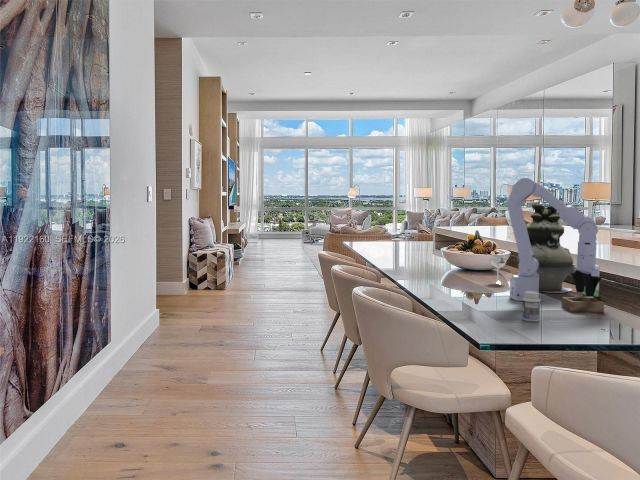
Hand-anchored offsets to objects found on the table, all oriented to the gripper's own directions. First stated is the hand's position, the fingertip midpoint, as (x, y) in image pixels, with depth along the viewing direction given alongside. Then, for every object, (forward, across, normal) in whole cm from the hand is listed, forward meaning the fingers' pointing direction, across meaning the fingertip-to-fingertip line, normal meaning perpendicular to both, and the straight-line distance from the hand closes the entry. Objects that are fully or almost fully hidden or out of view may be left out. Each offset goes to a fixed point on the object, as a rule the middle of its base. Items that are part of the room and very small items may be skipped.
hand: (584, 294), depth 175 cm
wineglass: (+4, +47, +17) cm, 50 cm away
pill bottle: (+4, -27, +27) cm, 38 cm away
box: (+4, -10, +5) cm, 12 cm away
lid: (+4, 0, 0) cm, 4 cm away
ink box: (+4, +21, -11) cm, 24 cm away
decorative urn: (+4, +31, +3) cm, 31 cm away
